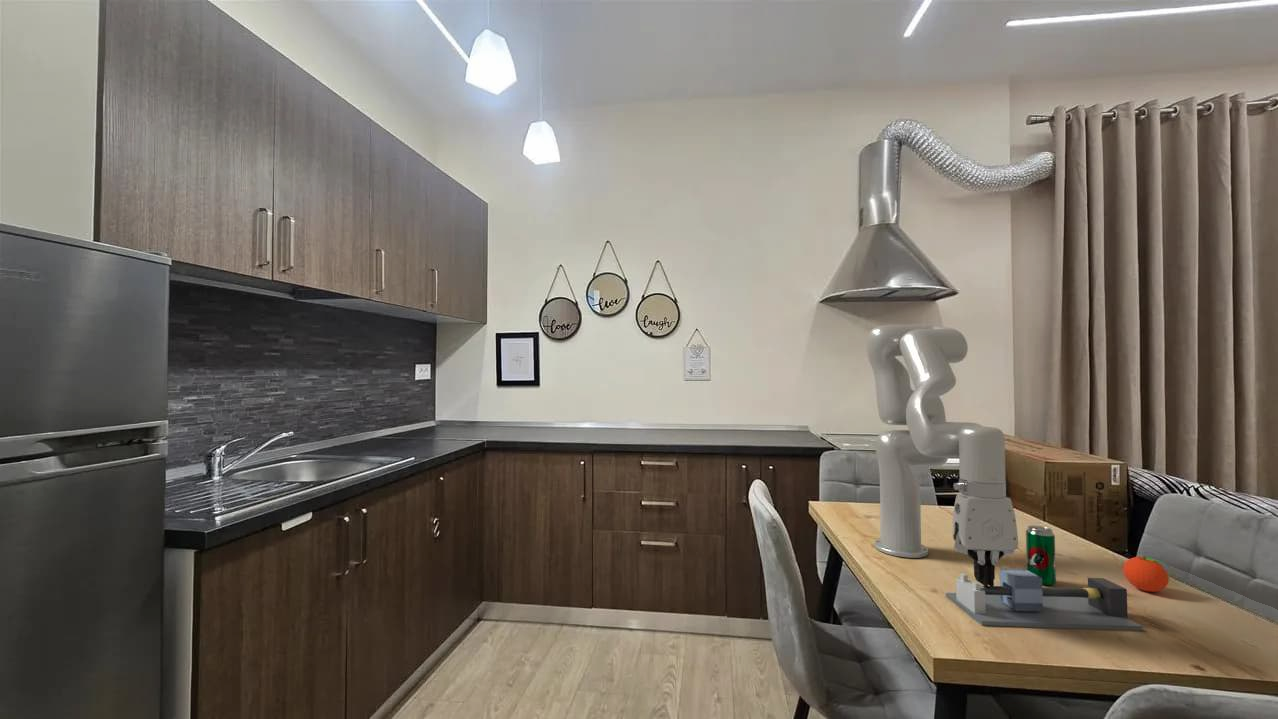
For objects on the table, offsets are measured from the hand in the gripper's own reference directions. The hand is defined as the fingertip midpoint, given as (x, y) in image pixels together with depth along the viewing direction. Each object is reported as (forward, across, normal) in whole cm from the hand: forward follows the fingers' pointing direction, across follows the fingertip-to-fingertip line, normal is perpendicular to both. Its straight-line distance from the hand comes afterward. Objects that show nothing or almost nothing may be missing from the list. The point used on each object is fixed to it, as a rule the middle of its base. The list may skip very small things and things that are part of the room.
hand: (984, 582), depth 97 cm
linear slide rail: (+5, +10, 0) cm, 12 cm away
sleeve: (+4, +7, 0) cm, 8 cm away
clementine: (+6, +41, +12) cm, 43 cm away
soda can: (+6, +21, +15) cm, 27 cm away
